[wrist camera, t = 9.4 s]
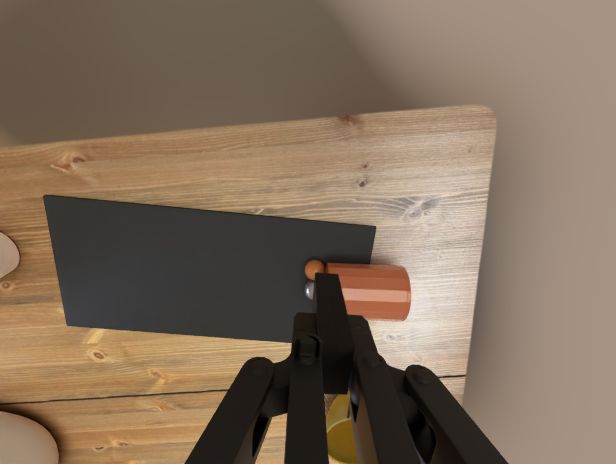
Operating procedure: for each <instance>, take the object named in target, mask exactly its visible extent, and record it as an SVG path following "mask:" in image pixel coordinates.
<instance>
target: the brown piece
mask: <svg viewBox="0 0 616 464" xmlns="http://www.w3.org/2000/svg"><path fill="white" fill-rule="evenodd" d="M315 272H317V273H325V267H324V265H323V263H322V262H321V261H319V260H311V261H309V262H308V263H307V264H306V266H305V274H306V276H307V277H308V278H309V279H311V280H314V278H315ZM327 273H328V272H327Z"/></svg>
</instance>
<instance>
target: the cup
mask: <svg viewBox="0 0 616 464" xmlns="http://www.w3.org/2000/svg"><path fill="white" fill-rule="evenodd" d="M18 263H19V252H18V249H17V247H16V245H15V244H14V243H13V241H12V240H11V239H10V238H8V237H7V236H6V235H4V234H3V233H1V232H0V278H1V277H3V276H4V275H6V274H8V273H9V272H11V271H12V270H14V269H15V268H16V267H17V265H18Z"/></svg>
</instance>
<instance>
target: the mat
mask: <svg viewBox="0 0 616 464" xmlns="http://www.w3.org/2000/svg"><path fill="white" fill-rule="evenodd" d="M43 199H44V204H45V209H46V215H47V220H48V226H49V231H50V237H51V242H52V248H53V253H54V258H55V264H56V269H57V275H58V280H59V286H60V291H61V296H62V302H63V307H64V313H65V318H66V324H67V326H76V327H89V328H103V329H116V330H129V331H142V332H155V333H168V334H181V335H194V336H207V337H221V338H234V339H247V340H260V341H273V342H286V343H292V333H293V319H294V316H295V315H296V314H297V312H306V313H312V299H310V298H308V297H307V296H306V294H305V285H306V284H307V282H309V281H310V280H311V279H309V278H308V277H307V276H306V274H305V266H306V264H307V263H308V262H309V261H311V260H319V261H321V262H322V263H323V265H324V267H325V266H326V263H327V262H329V263H352V264H370V260H371V254H372V249H373V243H374V238H375V232H376V226H368V225H358V224H347V223H337V222H326V221H316V220H305V219H295V218H284V217H274V216H263V215H253V214H242V213H232V212H221V211H211V210H200V209H190V208H179V207H169V206H158V205H148V204H137V203H127V202H117V201H106V200H96V199H85V198H75V197H64V196H54V195H44V196H43Z"/></svg>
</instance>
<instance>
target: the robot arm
mask: <svg viewBox="0 0 616 464" xmlns="http://www.w3.org/2000/svg"><path fill="white" fill-rule="evenodd" d="M348 387H349V391H350V399H349V405H348V411H347V419H349V417H350V416H351V422H352V429H353V435H354V442H355V448H356V455H357V461H358V464H508V463H507V461H506V460H505V459H504V458H503V456H502V455H501V454H500V453H499V452H498V450H497V449H496V448H495V447H494V446H493V444H492V443H491V442H490V441H489V439H488V438H487V437H486V436H485V435H484V433H483V432H482V431H481V430H480V428H479V427H478V426H477V425H476V424H475V422H474V421H473V420H472V419H471V418H470V417H469V415H468V414H467V413H466V411H465V410H464V409H463V408H462V407H461V405H460V404H459V403H458V402H457V400H456V399H455V398H454V397H453V396H452V394H451V393H450V392H449V391H448V389H447V388H446V387H445V386H444V385H443V383H442V382H441V381H440V380H439V379H438V377H437V376H436V375H435V374H434V373H433V372H432V371H431V370H429V369H428V368H426V367H424V366H421V365H410V366H408V367H407V368H406V370H405V371H403V370H400V369H396V368H394V367H391V366H389V365H388V364H386V361H385V360H384V358H383V357H382V356H381V355H379V354H378V352H377V349H376V346H375V343H374V340H373V337H372V335H371V330H370V327H369V324H368V321H367V320H366V319H365V318H364V317H363V316H362V315H350V314H348V313H347V309H346V305H345V300H344V296H343V292H342V287H341V283H340V279H339V274H332V273H317V272H315V278H314V288H313V299H312V313H306V312H297V314H296V315H295V316H294V319H293V333H292V348H291V354H290V355H289V357H288V358H286V359H285V360H283V361H281V362H278V363H272V362H271V361H270V360H269V359H267V358H265V357H255V358H251V359H250V360H248V361H247V362H246V363H245V364H244V365H243V366H242V368H241V370H240V372H239V373H238V375H237V377H236V378H235V380H234V382H233V383H232V385H231V387H230V388H229V390H228V392H227V393H226V395H225V397H224V398H223V400H222V402H221V403H220V405H219V407H218V408H217V410H216V412H215V413H214V415H213V417H212V418H211V420H210V422H209V424H208V425H207V427H206V429H205V430H204V432H203V434H202V435H201V437H200V439H199V440H198V442H197V444H196V445H195V447H194V449H193V450H192V452H191V454H190V455H189V457H188V459H187V460H186V462H185V464H255V462H256V459H257V456H258V454H259V451H260V449H261V446H262V443H263V441H264V438H265V435H266V433H267V430H268V428H269V425H270V422H271V419H272V417H274V416H278V415H282V414H285V413H287V425H286V441H285V457H284V464H329V457H328V443H327V430H326V416H325V402H324V394H342V395H347V393H348Z"/></svg>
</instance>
